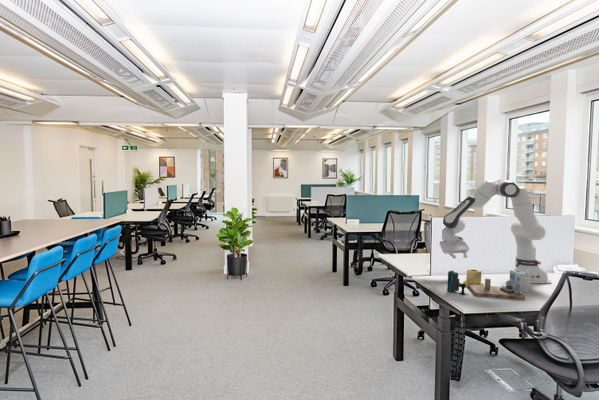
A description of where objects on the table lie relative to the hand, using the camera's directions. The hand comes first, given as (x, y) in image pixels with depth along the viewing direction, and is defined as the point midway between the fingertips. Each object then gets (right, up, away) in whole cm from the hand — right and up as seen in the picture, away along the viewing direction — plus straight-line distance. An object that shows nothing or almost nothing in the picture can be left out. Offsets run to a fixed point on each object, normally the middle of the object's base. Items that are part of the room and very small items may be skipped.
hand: (460, 257), depth 253 cm
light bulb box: (+29, -17, -18) cm, 38 cm away
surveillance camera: (-14, -17, -29) cm, 36 cm away
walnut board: (+8, -17, -29) cm, 34 cm away
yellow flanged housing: (+4, -16, -10) cm, 19 cm away
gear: (+16, -15, -29) cm, 37 cm away
